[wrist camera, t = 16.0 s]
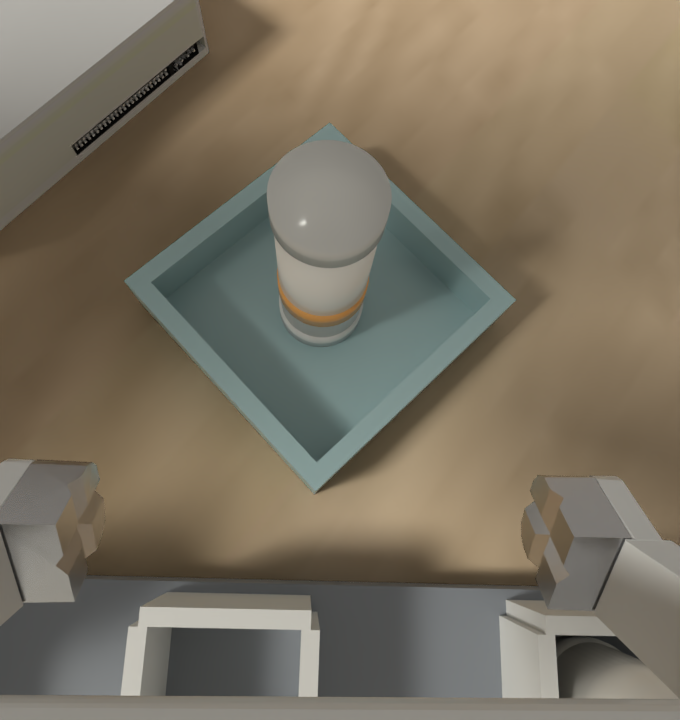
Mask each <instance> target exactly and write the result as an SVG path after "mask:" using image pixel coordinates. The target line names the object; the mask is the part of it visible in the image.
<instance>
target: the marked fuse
mask: <svg viewBox="0 0 680 720" xmlns="http://www.w3.org/2000/svg"><path fill="white" fill-rule="evenodd" d="M391 201H392V193H391V187H390V182H389V180H388V177H387V175H386V173H385V171H384V169H383V168H382V167H381V165H380V164H379V163H378V162H377V161H376V159H375V158H374V157H372V156H371V155H370V154H369V153H367V152H366V151H364V150H363V149H361V148H359V147H357V146H355V145H352V144H350V143H347V142H342V141H337V140H318V141H312V142H308V143H305V144H303V145H300V146H298V147H296V148H294V149H293V150H291V151H290V152H288V153H287V154H286V155H285V156H283V157H282V158H281V159H280V161H279V162H278V163H277V164H276V166H275V167H274V169H273V171H272V173H271V175H270V178H269V181H268V185H267V204H268V212H269V220H270V226H271V229H272V232H273V234H274V239H275V248H276V258H277V267H278V268H277V281H278V290H279V307H280V315H281V319H282V322H283V324H284V326H285V328H286V329H287V331H288V332H289V333H290V334H291V335H292V336H293V337H294V338H295V339H296V340H298V341H299V342H301V343H303V344H306V345H309V346H313V347H329V346H333V345H336V344H338V343H341V342H342V341H344V340H345V339H347V338H348V337H349V336H350V335H351V334H352V333H353V332H354V330H355V329H356V327H357V325H358V323H359V320H360V316H361V313H362V309H363V301H364V298H365V295H366V291H367V288H368V283H369V274H370V271H371V267H372V263H373V259H374V256H375V252H376V248H377V244H378V243H379V241H380V240H381V238H382V236H383V233H384V230H385V227H386V223H387V219H388V216H389V212H390V208H391Z"/></svg>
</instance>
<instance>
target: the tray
mask: <svg viewBox="0 0 680 720" xmlns="http://www.w3.org/2000/svg"><path fill="white" fill-rule="evenodd" d="M318 140H337V141H342V142H347V143H350V144H352V143H351V142H350V141H349V140H348V139H347V138H346V137H344V136H343V135H342V134H341V133H340V132H339V131H338V130H337V129H336V128H335V127H334V126H333V125H332V124H331V123H328V124H327V125H326V126H325V127H323V128H322V129H321V130H319V131H318V132H317V133H315V134H314V135H313V136H312V137H310V138H309V139H308V140H306V141H305V142H304V143H302V144H301V145H303V144H305V143H308V142H312V141H318ZM352 145H353V144H352ZM276 164H277V163H276ZM276 164H275V165H274V166H273V167H271V168H270V169H269V170H267V171H266V172H265V173H263V174H262V175H261V176H260V177H258V178H257V179H256V180H254V181H253V182H252V183H250V184H249V185H248V186H247V187H245V188H244V189H243V190H241V191H240V192H239V193H237V194H236V195H235V196H234V197H232V198H231V199H230V200H228V201H227V202H226V203H224V204H223V205H222V206H220V207H219V208H218V209H217V210H215V211H214V212H213V213H211V214H210V215H209V216H207V217H206V218H205V219H204V220H202V221H201V222H200V223H198V224H197V225H196V226H194V227H193V228H192V229H191V230H189V231H188V232H187V233H185V234H184V235H183V236H181V237H180V238H179V239H178V240H176V241H175V242H174V243H172V244H171V245H170V246H168V247H167V248H166V249H165V250H163V251H162V252H161V253H159V254H158V255H157V256H155V257H154V258H153V259H152V260H150V261H149V262H148V263H146V264H145V265H144V266H142V267H141V268H140V269H139V270H137V271H136V272H135V273H133V274H132V275H131V276H129V277H128V278H127V279H126V280H124V282H125V283H126V284H127V286H128V287H129V288H130V290H131V291H132V292H133V294H134V295H135V296H136V298H137V299H138V300H139V302H140V303H141V304H142V305H143V306H144V307H145V309H146V310H147V311H148V312H149V313H150V314H151V315H152V316H153V317H154V318H155V320H156V321H157V322H158V323H159V324H160V325H161V326H162V327H163V328H164V329H165V331H166V332H167V333H168V334H169V335H170V336H171V337H172V338H173V339H174V340H175V342H176V343H177V344H178V345H179V346H180V347H181V348H182V349H183V350H184V351H185V353H186V354H187V355H188V356H189V357H190V358H191V359H192V360H193V361H194V362H195V364H196V365H197V366H198V367H199V368H200V369H201V370H202V371H203V372H204V373H205V375H206V376H207V377H208V378H209V379H210V380H211V381H212V382H213V383H214V384H215V386H216V387H217V388H218V389H219V390H220V391H221V392H222V393H223V394H224V395H225V397H226V398H227V399H228V400H229V401H230V402H231V403H232V404H233V405H234V406H235V408H236V409H237V410H238V411H239V412H240V413H241V414H242V415H243V416H244V417H245V419H246V420H247V421H248V422H249V423H250V424H251V425H252V426H253V427H254V428H255V430H256V431H257V432H258V433H259V434H260V435H261V436H262V437H263V438H264V440H265V441H266V442H267V443H268V444H269V445H270V446H271V447H272V448H273V449H274V451H275V452H276V453H277V454H278V455H279V456H280V457H281V458H282V459H283V460H284V462H285V463H286V464H287V465H288V466H289V467H290V468H291V469H292V470H293V471H294V473H295V474H296V475H297V476H298V477H299V478H300V479H301V480H302V481H303V482H304V484H305V485H306V486H307V487H308V488H309V489H310V490H311V491H312V492H313V493H314V494H315V493H316V492H317V491H318V490H319V489H320V488H321V487H323V486H324V485H325V484H326V483H327V482H328V481H329V480H330V479H331V478H332V477H333V476H334V475H335V474H336V473H337V472H338V471H339V470H340V469H341V468H342V467H343V466H344V465H346V464H347V463H348V462H349V461H350V460H351V459H352V458H353V457H354V456H355V455H356V454H357V453H358V452H359V451H360V450H361V449H362V448H363V447H364V446H365V445H366V444H368V443H369V442H370V441H371V440H372V439H373V438H374V437H375V436H376V435H377V434H378V433H379V432H380V431H381V430H382V429H383V428H384V427H385V426H386V425H387V424H388V423H390V422H391V421H392V420H393V419H394V418H395V417H396V416H397V415H398V414H399V413H400V412H401V411H402V410H403V409H404V408H405V407H406V406H407V405H408V404H409V403H410V402H412V401H413V400H414V399H415V398H416V397H417V396H418V395H419V394H420V393H421V392H422V391H423V390H424V389H425V388H426V387H427V386H428V385H429V384H430V383H431V382H432V381H433V380H435V379H436V378H437V377H438V376H439V375H440V374H441V373H442V372H443V371H444V370H445V369H446V368H447V367H448V366H449V365H450V364H451V363H452V362H453V361H454V360H455V359H457V358H458V357H459V356H460V355H461V354H462V353H463V352H464V351H465V350H466V349H467V348H468V347H469V346H470V345H471V344H472V343H473V342H474V341H475V340H476V339H477V338H479V337H480V336H481V335H482V334H483V333H484V332H485V331H486V330H487V329H488V328H489V327H490V326H491V325H492V324H493V323H494V322H495V321H496V320H497V319H498V318H499V317H500V316H501V315H502V314H503V313H504V312H505V311H506V310H507V309H508V308H509V307H510V306H511V305H512V304H513V303H514V302H515V301H516V299H514V298H513V297H512V296H511V295H510V294H509V293H508V292H507V291H506V290H505V289H504V288H503V287H502V286H501V285H500V284H499V283H498V282H497V281H496V280H495V279H493V278H492V277H491V276H490V275H489V274H488V273H487V272H486V271H485V270H484V269H483V268H482V267H481V266H480V265H479V264H478V263H477V262H476V261H475V260H474V259H473V258H471V257H470V256H469V255H468V254H467V253H466V252H465V251H464V250H463V249H462V248H461V247H460V246H459V245H458V244H457V243H456V242H455V241H454V240H453V239H452V238H450V237H449V236H448V235H447V234H446V233H445V232H444V231H443V230H442V229H441V228H440V227H439V226H438V225H437V224H436V223H435V222H434V221H433V220H432V219H431V218H429V217H428V216H427V215H426V214H425V213H424V212H423V211H422V210H421V209H420V208H419V207H418V206H417V205H416V204H415V203H414V202H413V201H412V200H411V199H410V198H408V197H407V196H406V195H405V194H404V193H403V192H402V191H401V190H400V189H399V188H398V187H397V186H396V185H395V184H394V183H393V182H392V181H391V180H390V179H389V178H388V180H389V182H390V187H391V193H392V201H391V208H390V212H389V216H388V219H387V223H386V227H385V230H384V233H383V236H382V238H381V240H380V241H379V243H378V244H377V248H376V252H375V256H374V259H373V263H372V267H371V271H370V274H369V283H368V288H367V291H366V295H365V298H364V301H363V309H362V313H361V316H360V320H359V323H358V325H357V327H356V329H355V330H354V332H353V333H352V334H351V335H350V336H349V337H348V338H347V339H345V340H344V341H342V342H341V343H338V344H336V345H333V346H329V347H313V346H309V345H306V344H303V343H301V342H299V341H298V340H296V339H295V338H294V337H293V336H292V335H291V334H290V333H289V332H288V331H287V329H286V328H285V326H284V324H283V322H282V319H281V315H280V307H279V290H278V281H277V268H278V267H277V258H276V248H275V239H274V234H273V232H272V229H271V226H270V220H269V212H268V204H267V185H268V181H269V178H270V175H271V173H272V171H273V169H274V167H275V166H276Z"/></svg>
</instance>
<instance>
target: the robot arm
mask: <svg viewBox="0 0 680 720" xmlns="http://www.w3.org/2000/svg"><path fill="white" fill-rule="evenodd" d="M99 480H100V478H99V473H98V469H97V465H95V464H94V463H92V462H76V461H57V460H27V459H7V460H5V461H3V462H1V463H0V626H1V625H2V624H3V623H4V622H5V621H7V620H8V619H9V618H10V617H11V616H12V615H13V614H14V613H16V612H17V611H18V610H19V609H20V608H21V607H22V606H23V603H36V602H75V600H76V598H77V595H78V593H79V591H80V588H81V586H82V584H83V581H84V579H85V577H86V574H87V572H88V567H87V562H86V558H87V557H88V556H89V555H91V554H92V553H93V552H95V551H96V550H97V548H98V546H99V543H100V541H101V538H102V535H103V529H104V524H105V505H104V499H103V497H102V496H101V495H99V494H98V493H97V492H96V491H95V489H96V487H97V485H98V482H99ZM530 492H531V494H532V497H533V499H534V502H532V503H531V504H530V505H529V506H528V507H526V508H525V510H524V514H523V518H522V522H521V537H522V542H523V547H524V550H525V553H526V555H527V558H528V559H529V560H530V561H531V562H532V563H534V564H535V565H536V566H537V567H538V568H539V569H538V572H537V575H536V578H535V579H536V581H537V584H538V586H539V589H540V591H541V594H542V596H543V599H544V601H545V604H546V606H547V609H554V610H578V611H594V614H595V615H596V616H597V617H598V618H599V619H600V620H601V621H602V622H603V623H604V624H605V625H606V626H607V627H608V628H609V629H610V630H611V631H612V632H613V633H614V634H615V635H616V636H617V637H618V638H619V639H620V640H621V641H622V642H623V643H624V644H625V645H626V646H627V647H628V648H629V649H630V650H631V651H632V652H633V653H634V654H635V655H636V656H637V657H638V658H639V659H640V660H641V661H642V662H643V663H644V664H645V665H646V666H647V667H648V668H649V669H650V670H651V671H652V672H653V673H654V674H655V675H656V676H657V677H658V678H659V679H660V680H661V681H662V682H663V683H664V684H665V685H666V686H667V687H668V688H669V689H670V690H671V691H672V692H673V693H674V694H675V695H676V696H677V697H678V698H679V699H604V698H425V697H269V696H111V695H0V720H680V546H679V545H677V544H676V543H674V542H672V541H671V540H662V538H661V537H660V535H659V534H658V532H657V531H656V529H655V528H654V526H653V525H652V524H651V522H650V521H649V519H648V518H647V516H646V515H645V513H644V512H643V510H642V509H641V507H640V506H639V504H638V503H637V501H636V500H635V498H634V497H633V495H632V494H631V492H630V491H629V489H628V488H627V486H626V485H625V483H624V482H623V481H622V479H620V478H618V477H617V476H589V477H588V476H554V475H537V477H536V478H535V479H534V481H533V483H532V487H531V490H530Z"/></svg>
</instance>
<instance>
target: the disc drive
mask: <svg viewBox="0 0 680 720" xmlns="http://www.w3.org/2000/svg"><path fill="white" fill-rule="evenodd" d="M208 53H209V49H208V44H207V39H206V34H205V29H204V24H203V19H202V13H201V8H200V3H199V0H0V230H2V229H3V228H4V227H5V226H6V225H7V224H9V223H10V222H11V221H12V220H13V219H15V218H16V217H17V216H18V215H19V214H20V213H22V212H23V211H24V210H25V209H26V208H27V207H29V206H30V205H31V204H32V203H33V202H34V201H36V200H37V199H38V198H39V197H40V196H41V195H43V194H44V193H45V192H46V191H47V190H49V189H50V188H51V187H52V186H53V185H54V184H56V183H57V182H58V181H59V180H60V179H61V178H63V177H64V176H65V175H66V174H67V173H68V172H70V171H71V170H72V169H73V168H74V167H75V166H77V165H78V164H79V163H80V162H81V161H83V160H84V159H85V158H86V157H87V156H88V155H90V154H91V153H92V152H93V151H94V150H95V149H97V148H98V147H99V146H100V145H101V144H102V143H104V142H105V141H106V140H107V139H108V138H110V137H111V136H112V135H113V134H114V133H115V132H117V131H118V130H119V129H120V128H121V127H122V126H124V125H125V124H126V123H127V122H128V121H129V120H131V119H132V118H133V117H134V116H135V115H136V114H138V113H139V112H140V111H141V110H142V109H144V108H145V107H146V106H147V105H148V104H149V103H151V102H152V101H153V100H154V99H155V98H156V97H158V96H159V95H160V94H161V93H162V92H163V91H165V90H166V89H167V88H168V87H169V86H170V85H172V84H173V83H174V82H175V81H176V80H178V79H179V78H180V77H181V76H182V75H183V74H185V73H186V72H187V71H188V70H189V69H190V68H192V67H193V66H194V65H195V64H196V63H197V62H199V61H200V60H201V59H202V58H203V57H204V56H206V55H207V54H208Z"/></svg>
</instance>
